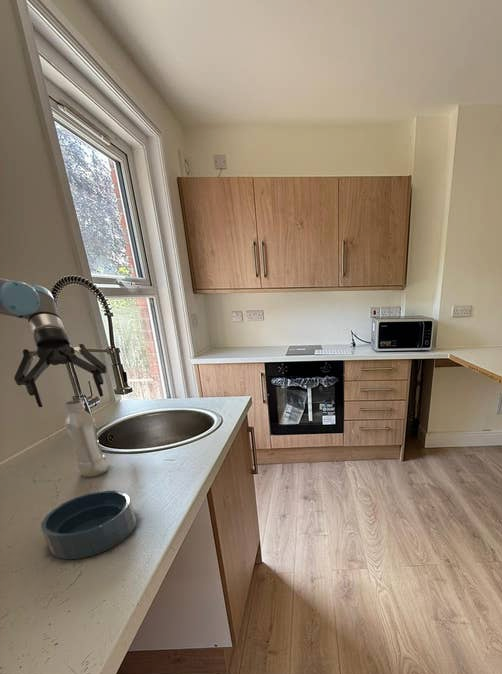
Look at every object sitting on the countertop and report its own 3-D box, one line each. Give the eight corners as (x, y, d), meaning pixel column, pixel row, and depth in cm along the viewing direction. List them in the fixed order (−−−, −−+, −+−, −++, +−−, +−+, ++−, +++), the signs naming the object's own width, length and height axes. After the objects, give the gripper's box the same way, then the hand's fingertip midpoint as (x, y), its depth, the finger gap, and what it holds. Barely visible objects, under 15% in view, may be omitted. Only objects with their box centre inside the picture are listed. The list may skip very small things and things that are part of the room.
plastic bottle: (102, 465, 97) (81, 396, 89) (114, 472, 93) (94, 401, 85) (77, 475, 92) (52, 403, 84) (88, 483, 88) (64, 408, 80)
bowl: (33, 565, 62) (21, 538, 60) (80, 515, 75) (72, 492, 73) (115, 560, 63) (106, 533, 60) (148, 512, 76) (142, 488, 74)
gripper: (102, 339, 107) (124, 396, 102) (-5, 349, 93) (15, 416, 88) (100, 322, 101) (123, 382, 96) (-14, 330, 87) (6, 401, 82)
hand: (71, 399), depth 92 cm, fingers open, 13 cm apart
